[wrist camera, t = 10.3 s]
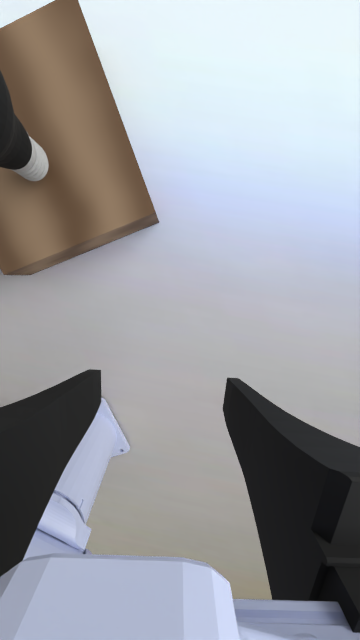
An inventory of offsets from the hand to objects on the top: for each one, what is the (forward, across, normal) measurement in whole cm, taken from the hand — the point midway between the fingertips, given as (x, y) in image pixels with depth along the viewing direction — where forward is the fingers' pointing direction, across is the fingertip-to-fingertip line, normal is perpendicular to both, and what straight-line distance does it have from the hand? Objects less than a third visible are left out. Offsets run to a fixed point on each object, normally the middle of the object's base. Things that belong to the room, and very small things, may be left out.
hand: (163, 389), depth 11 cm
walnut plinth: (+10, +11, -15) cm, 21 cm away
